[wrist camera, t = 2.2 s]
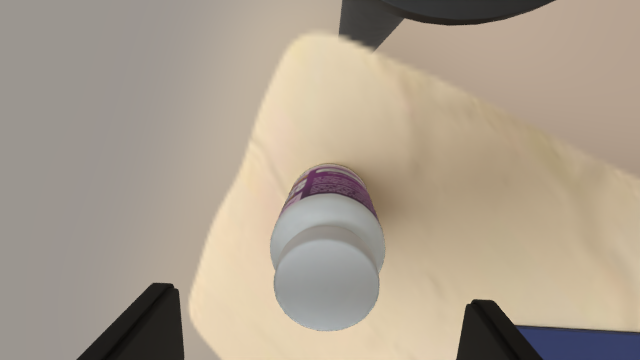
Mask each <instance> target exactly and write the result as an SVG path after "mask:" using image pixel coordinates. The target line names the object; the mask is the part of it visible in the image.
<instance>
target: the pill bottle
mask: <svg viewBox="0 0 640 360" xmlns="http://www.w3.org/2000/svg"><path fill="white" fill-rule="evenodd" d="M270 253H271V259H272V263H273V266H274V269H275V276H274V291H275V296H276V299H277V301H278V303H279V305H280V307H281V308H282V309H283V311H284V312H285V313H286V314H287V315H288V316H289V317H290V318H291V319H292V320H294V321H295V322H297V323H298V324H300V325H302V326H304V327H307V328H310V329H314V330H317V331H337V330H342V329H345V328H348V327H351V326H353V325H355V324H357V323H358V322H360V321H361V320H362V319H364V318H365V317H366V316H367V315H368V314H369V313H370V311H371V310H372V308H373V307H374V305H375V303H376V301H377V298H378V295H379V275H378V274H379V272H380V270H381V268H382V265H383V262H384V257H385V240H384V234H383V231H382V228H381V225H380V223H379V220H378V218H377V214H376V212H375V210H374V207H373V204H372V201H371V199H370V196H369V193H368V191H367V188H366V186H365V184H364V183H363V181H362V180H361V179H360V177H359V176H358V175H357V174H355V173H354V172H353V171H352V170H350V169H348V168H346V167H343V166H340V165H335V164H322V165H318V166H315V167H313V168H310V169H309V170H307V171H306V172H304V173H303V174H302V175H301V176H300V177H299V178H298V179H297V180H296V182H295V183H294V185H293V187H292V189H291V191H290V193H289V196H288V198H287V200H286V202H285V204H284V206H283V208H282V211H281V213H280V215H279V218H278V220H277V222H276V224H275V227H274V230H273V233H272V237H271V242H270Z"/></svg>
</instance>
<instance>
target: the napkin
mask: <svg viewBox="0 0 640 360" xmlns="http://www.w3.org/2000/svg"><path fill="white" fill-rule="evenodd" d="M516 328H517V329H518V330H519V331H520V332H521V334H522V335H523V336H524V337H525V338H526V340H527V341H528V342H529V343H530V344H531V345H532V347H533V348H534V349H535V350H536V351H537V353H538V354H539V355H540V356H541V357H542V359H543V360H640V333H632V332H615V331H597V330H580V329H563V328H545V327H528V326H516Z"/></svg>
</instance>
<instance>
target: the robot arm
mask: <svg viewBox="0 0 640 360" xmlns="http://www.w3.org/2000/svg"><path fill="white" fill-rule="evenodd" d="M77 360H184V346H183V335H182V322H181V311H180V299H179V291H178V289H175V288H174V286H173V284H170V283H153V284H152V285H150V286H149V287H148V288H147V289H146V290H145V291H144V292H143V293H142V294H141V295H140V296H139V297H138V298H137V299H136V300H135V301H134V302H133V303H132V304H131V305H130V306H129V307H128V308H127V310H125V311H124V312H123V313H122V314H121V315H120V316H119V317H118V318H117V319H116V320H115V321H114V322H113V323H112V324H111V325H110V326H109V327H108V328H107V329H106V330H105V332H103V333H102V334H101V336H100V337H98V338H97V340H96V341H94V342H93V344H92V345H91V346H90V347H89V348H88V349H87V350H86V351H85V352H84V353H83V354H82V355H81V356H80V357H79V358H78V359H77ZM456 360H543V359H542V357H541V356H540V355H539V354H538V353H537V351H536V350H535V349H534V348H533V347H532V345H531V344H530V343H529V342H528V341H527V340H526V338H525V337H524V336H523V335H522V334H521V332H520V331H519V330H518V329H517V328H516V326H515V325H514V324H513V323H512V322H511V320H510V319H509V318H508V317H507V316H506V315H505V313H504V312H503V311H502V310H501V309H500V307H499V306H498V305H497V304H496V303H495V302H494V301H492V300H477V299H474V300H472V302H471V304H467V305H466V308H465V314H464V320H463V325H462V331H461V336H460V342H459V348H458V353H457V359H456Z"/></svg>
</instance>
